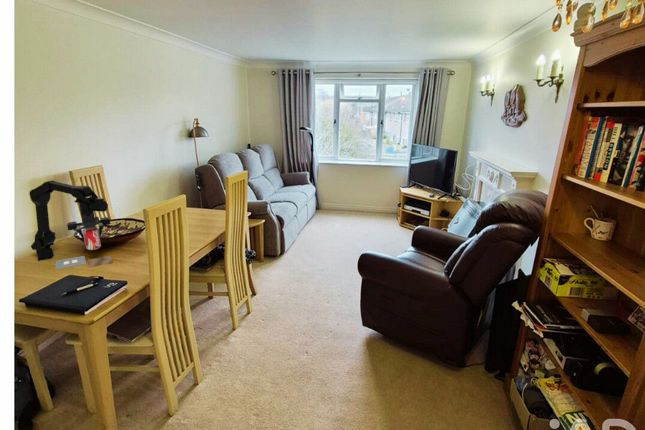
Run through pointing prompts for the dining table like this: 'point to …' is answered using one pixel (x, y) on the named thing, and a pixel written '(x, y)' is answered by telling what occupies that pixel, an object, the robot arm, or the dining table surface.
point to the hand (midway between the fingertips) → (92, 238)
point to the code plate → (70, 262)
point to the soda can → (91, 238)
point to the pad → (100, 261)
